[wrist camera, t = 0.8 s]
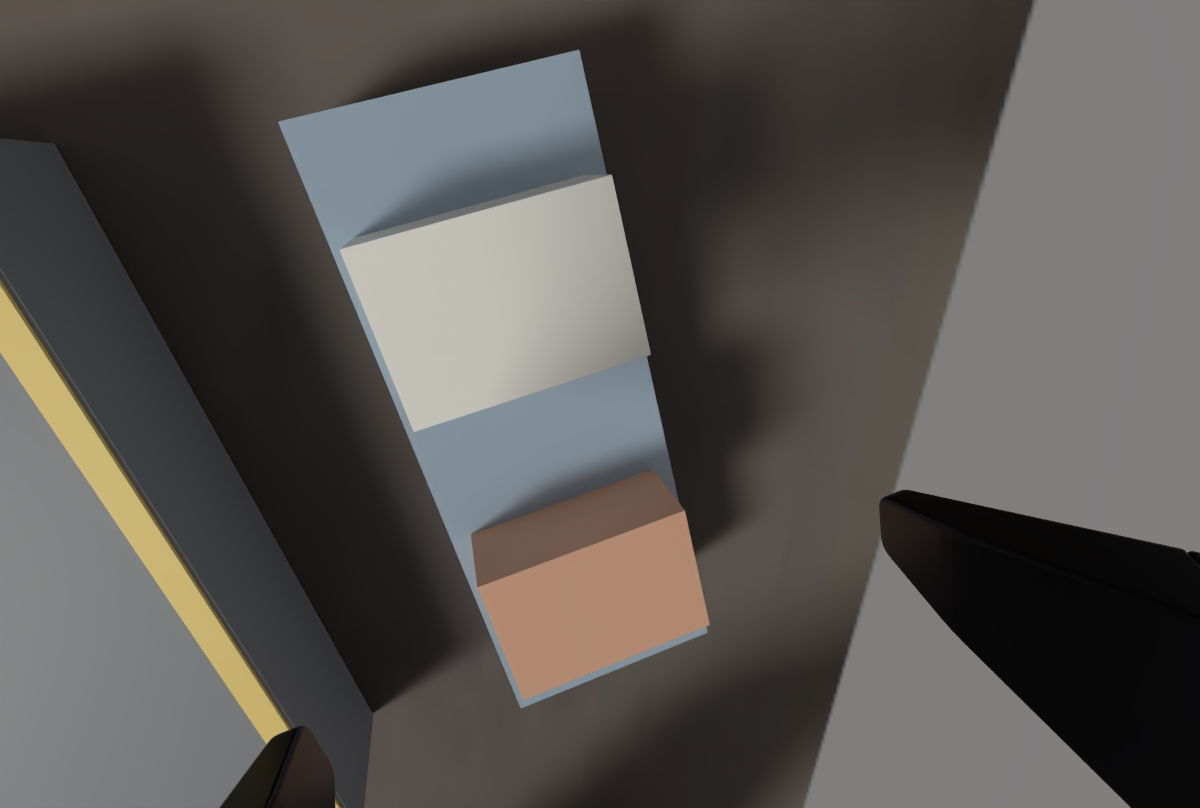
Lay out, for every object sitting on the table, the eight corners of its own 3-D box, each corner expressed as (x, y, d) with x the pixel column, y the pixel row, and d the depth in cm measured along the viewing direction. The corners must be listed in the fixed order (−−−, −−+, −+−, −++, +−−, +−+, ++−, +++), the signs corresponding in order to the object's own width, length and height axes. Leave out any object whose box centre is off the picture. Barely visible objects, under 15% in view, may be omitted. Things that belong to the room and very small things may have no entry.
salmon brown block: (677, 574, 18) (709, 624, 16) (511, 638, 17) (523, 700, 15) (653, 469, 16) (684, 510, 14) (470, 534, 15) (477, 587, 13)
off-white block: (620, 330, 15) (651, 354, 13) (415, 395, 14) (413, 432, 12) (583, 174, 13) (611, 174, 11) (353, 237, 12) (339, 249, 10)
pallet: (666, 566, 22) (707, 632, 19) (506, 628, 21) (520, 708, 18) (548, 75, 15) (579, 49, 12) (310, 133, 15) (278, 121, 11)
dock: (373, 714, 20) (361, 835, 17) (51, 840, 19) (-42, 1004, 15) (54, 143, 13) (-94, 130, 9) (-508, 273, 12) (-948, 319, 8)
